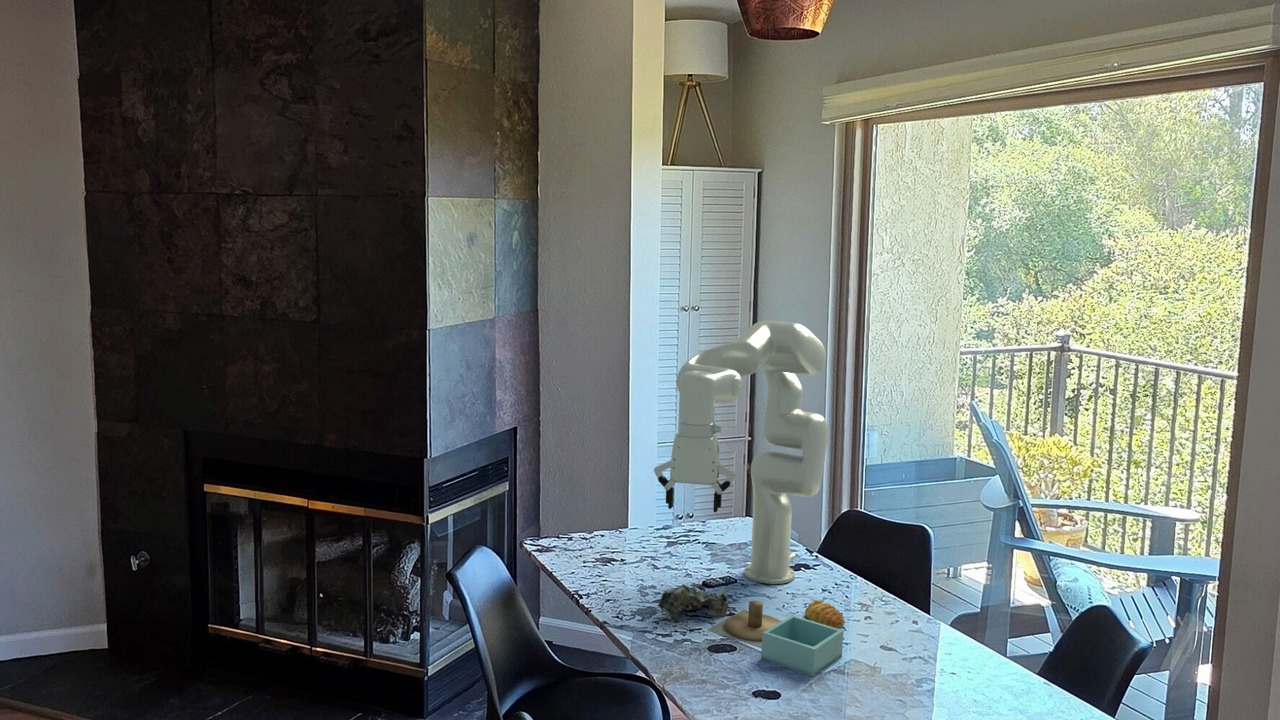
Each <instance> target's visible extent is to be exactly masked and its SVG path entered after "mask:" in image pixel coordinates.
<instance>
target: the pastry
mask: <svg viewBox="0 0 1280 720" xmlns="http://www.w3.org/2000/svg"><path fill="white" fill-rule="evenodd" d="M804 615H805V616H806V619H807V620H810V621H814V622H817V623H820V624H823V625H827V626H830V627H833V628H837V629H840V628H842V627H844V625H845V623H846V621H845V619H844V617H843V614H842V613H841V612H840V611H839V610H838V609H837V608H836V607H835V606H834V605H832V604H830V603H829V602H825V603H824V602H823V601H822V600H814V601H812V602H811V603H809V604H808V605H807V607H806V609H805V611H804Z"/></svg>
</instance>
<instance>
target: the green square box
mask: <svg viewBox="0 0 1280 720" xmlns="http://www.w3.org/2000/svg"><path fill="white" fill-rule="evenodd" d="M780 621H781V622H780V623H778V624H776V625H774V626H773V627H771V628H769V629H768V630H766V631H764V632H763V633H762V648H761V654H760V656H761V657H760V660H764V661H766V662H769V663H772V664H775V665H778V666H781V667H783V668H787V669H789V670H793V671H796V672H798V673H801V674H805V675H807V676H810V677H815V676H817V675H818V674H820V673H821V672H823V671H824V670H825V669H826V668H828V667H829V666H831V665H832V664H833V663H835V662H837V661H838V660H840V659H841V658H842V657H843V644H844V643H843V642H844V630H843V629H840V628H833V627H830V626H827V625H823V624H820V623H817V622H814V621H811V620H809V619H808V618H803V617H800V616H798V615H793V614H791V615H790V616H787V617H786V618H785V619H783V620H780Z"/></svg>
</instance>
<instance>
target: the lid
mask: <svg viewBox="0 0 1280 720" xmlns="http://www.w3.org/2000/svg"><path fill="white" fill-rule="evenodd" d="M763 608H764V602H763V601H760V600H751V601H749V602H748V611H749V613H745V614H738V615H735V614H733V615H734V616H733V615H732V616H730V618H729V617H727V618H726V619H727V620H726V619H725V620H726V622H725V629H726V631H727V632H728V633H730V634H731V635H733V636H735V637H738V638H741V639H745V640H751V641H762V633H763V632H764V631H766V630H768V629H769V628H771V627H773V626H774V625H776V624H778V623H780V622H781V621H782V620H781V619H778V618H777V617H773V616H771V615H768V614H763V613H764V611H763Z"/></svg>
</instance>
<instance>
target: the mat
mask: <svg viewBox="0 0 1280 720" xmlns="http://www.w3.org/2000/svg"><path fill="white" fill-rule="evenodd" d="M745 613H749V609H748V610H747V609H743V610H740V611H739V612H737V613H735V614H733V615H732V616H734V615H738V614H745ZM730 617H731V616H730ZM730 617H728V618H730ZM728 618H726V619H724V620H722V621H720V622H718V623H717V624H715V625H713V626H711V627H709V628H707V629H706V630H707V631H709V632H712V633H715V634H718V635H721V636H724V637H727V638H730V639H733V640H736V641H738V642H741V643H744V644H748V645H751V646H754V647H757V648H760V649H762V641H751V640H745V639H741V638H738V637H735V636H733V635H731V634H730V633H728V632H727V631H726V629H725V622H726V620H727V619H728Z"/></svg>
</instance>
